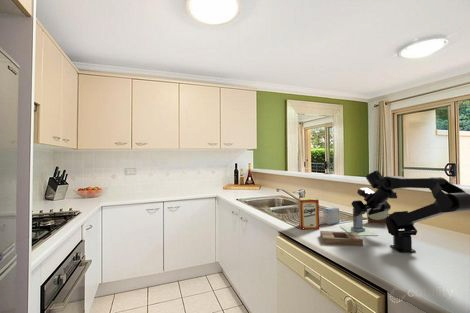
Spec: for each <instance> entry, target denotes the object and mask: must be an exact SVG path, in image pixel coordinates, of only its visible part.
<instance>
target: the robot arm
mask: <svg viewBox="0 0 470 313" xmlns="http://www.w3.org/2000/svg"><path fill="white" fill-rule="evenodd" d="M365 179H366V180H367V182H368V183H369V185H370V186H371V187H372V189H376V190H375V191H373V190H372V189H370V188H368V187H360V188H358V189H357V195H359V196H360V197H363V200H364V201H365V202H366V203H364V202H363V201H362V200H360V199H358V200H353V201H351V206H352V208H354V209H355V211H354V214H353V213H352V217H353V216H354V217H357V216H360V215H362V216H363V215H364V214H367V209H371V210H370V211H369V212H368V214H369V215H372V214H376V213H380V212H385V211H388V212H389V211H390V210H391V204H389V202H388V200H389V199H394V200H395V199H398V195H397V192H395V191H394V190H404V189H409V188H411V189H429V190H430V191H431V194H432V197H433V199H435V201H433V203H430V204H428V205H424V206H422V207H420V208H417V209H415V210H411V211H408V210H401V211H393V212H392V213H388V216H387V217H386V224H385V225H386V228H387V232H388V234H389V235H391V236H392V240H393V242H392V243H393V244H389V247H390V248H392V249H394V250H395V251H396V252H398V253H417V251H416V250H415V249H413V248H412V247H413V246H412V243H413V242H412V241H413V240H412V236H417V234H418V229H417V228H416V227H415V224H416V223H419V222H422V221H425V220H428V219H431V218H435V217H438V216H441V215H444V214H449V213H457V212H458V213H459V212H467V211H470V193H467V192H466V191H465V190H463V188H461V187H459V186H457V185H455V184H453V183H451V182H450V181H448V180H447V179H446V178H444V177H441V176H439V177H438V176H437V177H424V178H423V177H420V178H419V177H417V178H413V177H411V178H409V177H405V176H400V175H390V176H388V175H387V176H386V175H385V176H383V175H382V174H381V172H380V171H379V170H374V171H373V172H370V173H368V174H366V177H365ZM389 209H390V210H389Z"/></svg>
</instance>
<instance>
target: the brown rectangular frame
mask: <svg viewBox="0 0 470 313" xmlns="http://www.w3.org/2000/svg"><path fill="white" fill-rule="evenodd" d="M319 232H320V235H319V236H320V238H321V240H322V243H323V244H324V245H338V246H339V245H340V246H355V247H357V246H358V247H363V246H364V241H363V239H362V238H361V236H359V235H358V234H357V233H355V232H346V231H334V230H333V231H329V230H319Z"/></svg>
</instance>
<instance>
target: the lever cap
mask: <svg viewBox="0 0 470 313" xmlns="http://www.w3.org/2000/svg"><path fill="white" fill-rule="evenodd" d="M354 211H355V209H354V207H352V226H353V227H351V230H352V231H355V232H363V231H365V228H366V227H365V228H363V226H364V225H363V215H360V216H357V217H354V216H353V214H354Z"/></svg>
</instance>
